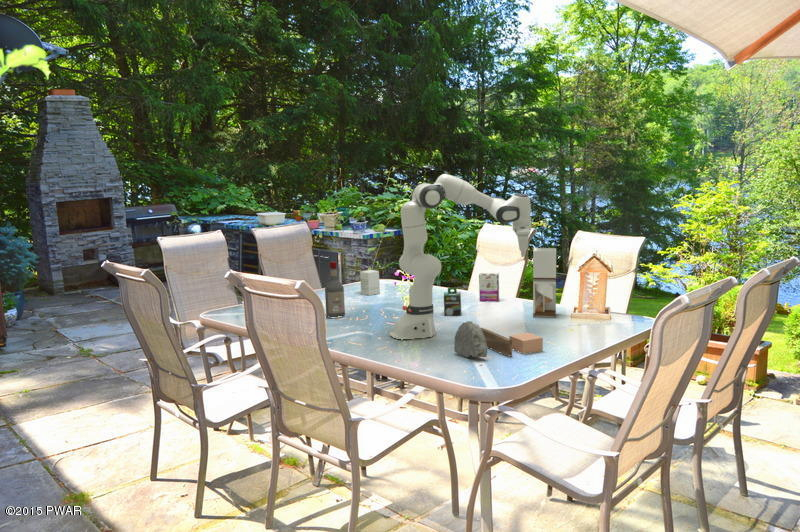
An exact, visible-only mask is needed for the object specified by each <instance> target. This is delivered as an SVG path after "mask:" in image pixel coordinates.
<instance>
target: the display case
mask: <svg viewBox="0 0 800 532" xmlns="http://www.w3.org/2000/svg"><path fill="white" fill-rule="evenodd" d="M532 253H533V254H532V255H533V256H532V261H533V262H532V265H533V266H532V268H533V269H532V272H533V273H532V277H533V279H532V281H533V282H532V283H533V285H532V287H533V288H532V289H533V291H532V296H533V297H532V299H533V300H532V304H533V305H532V306H533V307H532V308H533V309H532V312H533V313H532V317H533V319H556V318H557V312H556V311H557V306H556V305H557V304H556V303H557V248H556V247H555V248H553V247H552V248H551V247H549V248H546V247H545V248H543V247H541V248H535V247H534V248H533V252H532Z"/></svg>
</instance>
